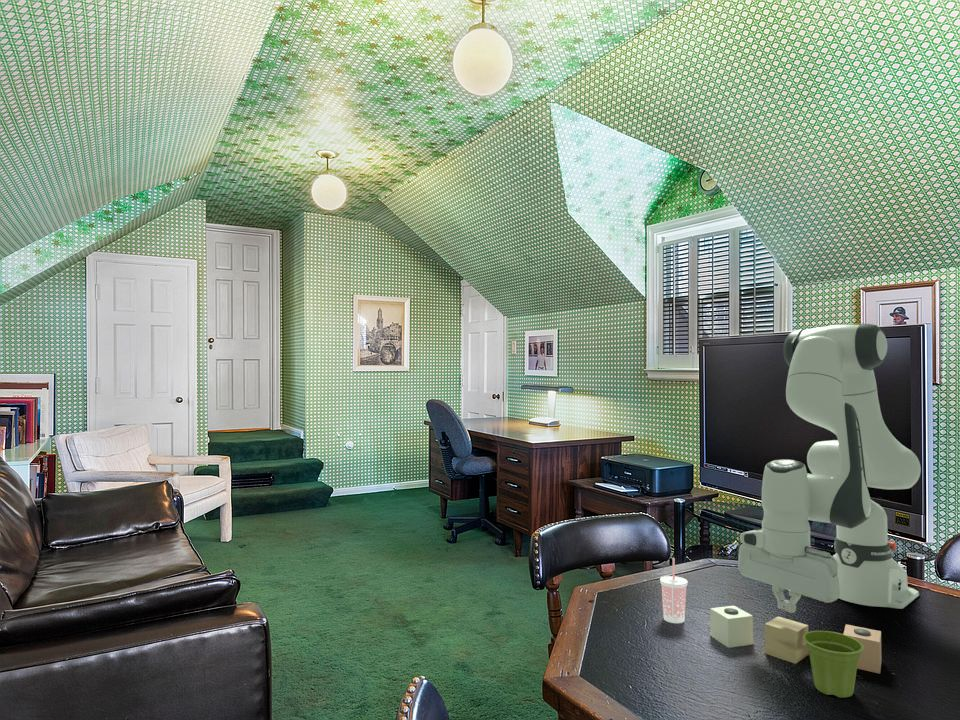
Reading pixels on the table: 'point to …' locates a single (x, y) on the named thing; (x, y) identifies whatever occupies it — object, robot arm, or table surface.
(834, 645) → the plant pot
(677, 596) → the beverage cup
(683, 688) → the table surface
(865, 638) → the dot block tan
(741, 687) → the table surface
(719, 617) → the dot block cream
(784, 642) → the oak block
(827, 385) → the robot arm
